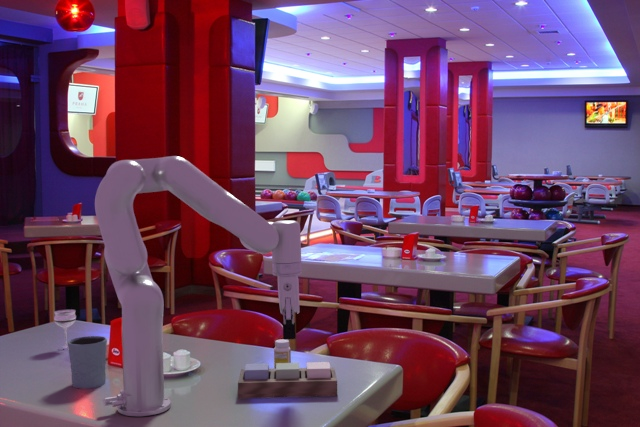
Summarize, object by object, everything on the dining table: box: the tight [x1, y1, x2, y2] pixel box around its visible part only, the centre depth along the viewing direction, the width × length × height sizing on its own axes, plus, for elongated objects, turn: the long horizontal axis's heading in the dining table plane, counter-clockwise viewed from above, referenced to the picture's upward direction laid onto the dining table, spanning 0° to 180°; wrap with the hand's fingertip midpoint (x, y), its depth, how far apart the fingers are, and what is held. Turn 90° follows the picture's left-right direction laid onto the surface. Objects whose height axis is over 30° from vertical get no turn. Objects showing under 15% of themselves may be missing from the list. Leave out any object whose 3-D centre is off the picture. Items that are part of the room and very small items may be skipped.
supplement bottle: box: [273, 338, 292, 369], centre depth 206 cm, size 5×5×8 cm
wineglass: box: [53, 308, 77, 348], centre depth 232 cm, size 7×7×12 cm
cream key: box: [306, 361, 331, 378], centre depth 187 cm, size 6×6×4 cm
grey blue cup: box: [67, 335, 108, 390], centre depth 194 cm, size 10×10×12 cm
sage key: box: [276, 362, 300, 379], centre depth 187 cm, size 6×6×4 cm
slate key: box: [244, 362, 270, 380], centre depth 187 cm, size 6×6×4 cm
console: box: [237, 366, 338, 399], centre depth 187 cm, size 25×12×4 cm, turn 92°
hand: (289, 338), depth 187 cm, fingers closed
